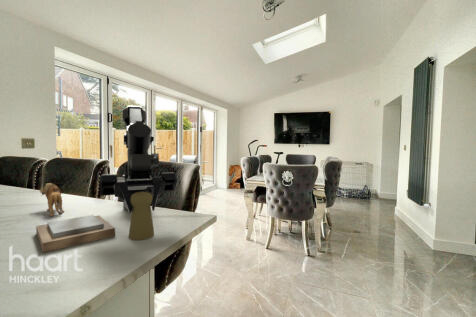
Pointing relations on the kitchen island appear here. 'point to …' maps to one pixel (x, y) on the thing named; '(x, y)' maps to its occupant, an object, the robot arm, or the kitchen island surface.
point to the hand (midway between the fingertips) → (142, 211)
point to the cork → (141, 216)
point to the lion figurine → (53, 198)
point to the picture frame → (73, 232)
